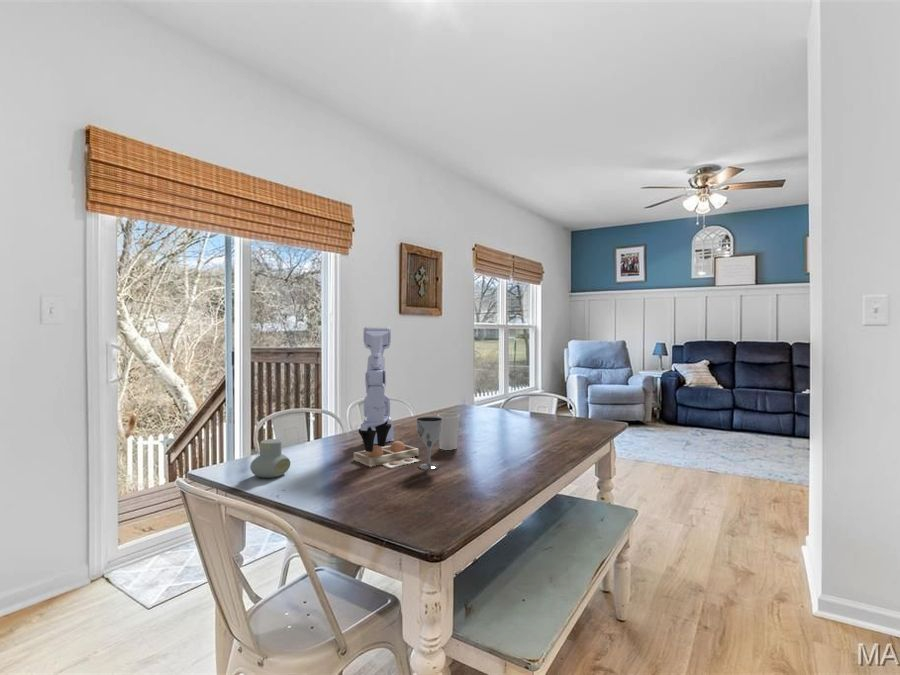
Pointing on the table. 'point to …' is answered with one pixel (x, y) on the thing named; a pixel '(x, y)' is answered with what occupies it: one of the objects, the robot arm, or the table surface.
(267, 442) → the air freshener
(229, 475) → the table surface
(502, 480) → the table surface
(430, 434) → the wine glass
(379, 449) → the loose ball
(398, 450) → the ball
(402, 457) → the rack
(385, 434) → the robot arm
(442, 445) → the cup
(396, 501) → the table surface
